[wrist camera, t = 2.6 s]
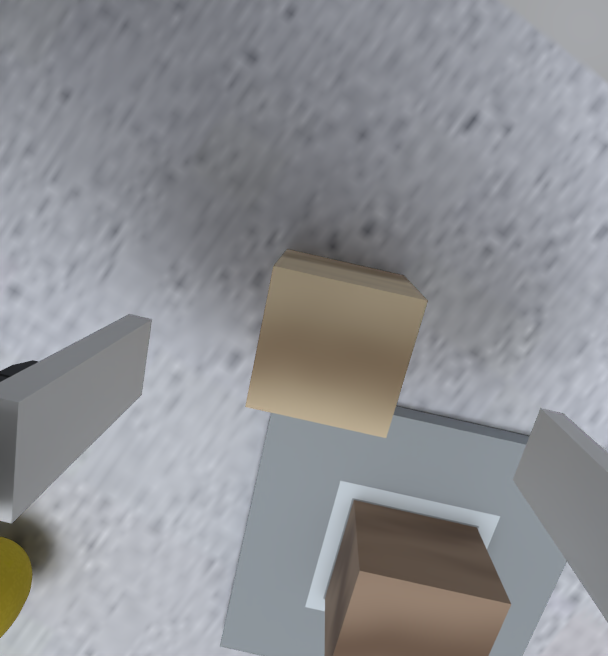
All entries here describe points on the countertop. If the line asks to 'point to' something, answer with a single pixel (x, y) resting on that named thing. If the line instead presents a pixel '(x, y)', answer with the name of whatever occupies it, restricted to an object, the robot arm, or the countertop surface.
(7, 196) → the countertop surface
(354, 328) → the oak cube
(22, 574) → the lemon
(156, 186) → the countertop surface
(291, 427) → the grey square plate
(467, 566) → the walnut base
